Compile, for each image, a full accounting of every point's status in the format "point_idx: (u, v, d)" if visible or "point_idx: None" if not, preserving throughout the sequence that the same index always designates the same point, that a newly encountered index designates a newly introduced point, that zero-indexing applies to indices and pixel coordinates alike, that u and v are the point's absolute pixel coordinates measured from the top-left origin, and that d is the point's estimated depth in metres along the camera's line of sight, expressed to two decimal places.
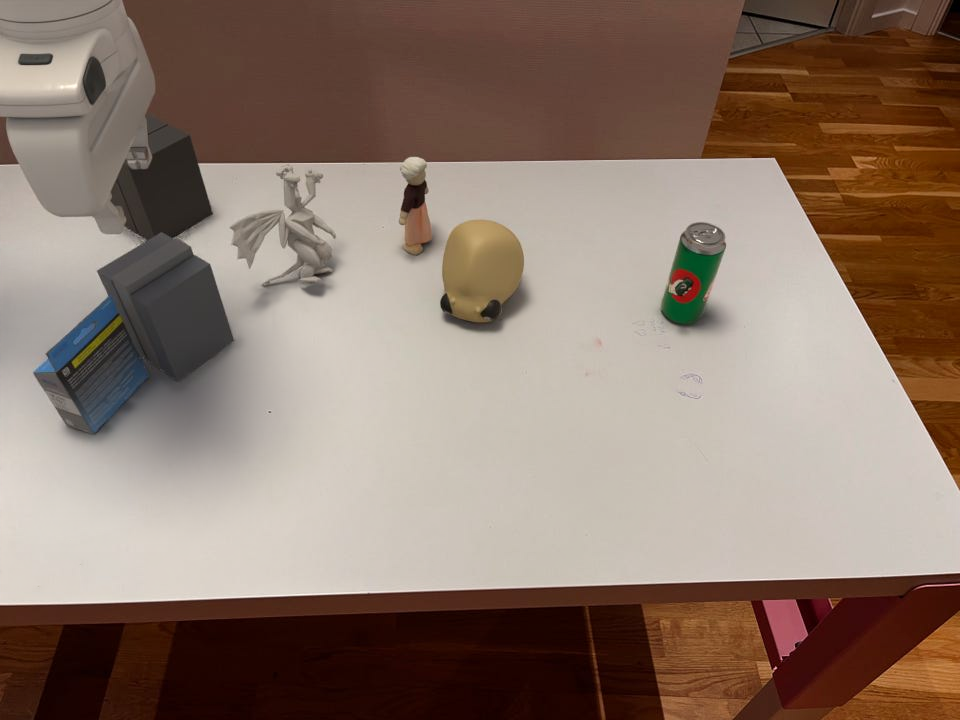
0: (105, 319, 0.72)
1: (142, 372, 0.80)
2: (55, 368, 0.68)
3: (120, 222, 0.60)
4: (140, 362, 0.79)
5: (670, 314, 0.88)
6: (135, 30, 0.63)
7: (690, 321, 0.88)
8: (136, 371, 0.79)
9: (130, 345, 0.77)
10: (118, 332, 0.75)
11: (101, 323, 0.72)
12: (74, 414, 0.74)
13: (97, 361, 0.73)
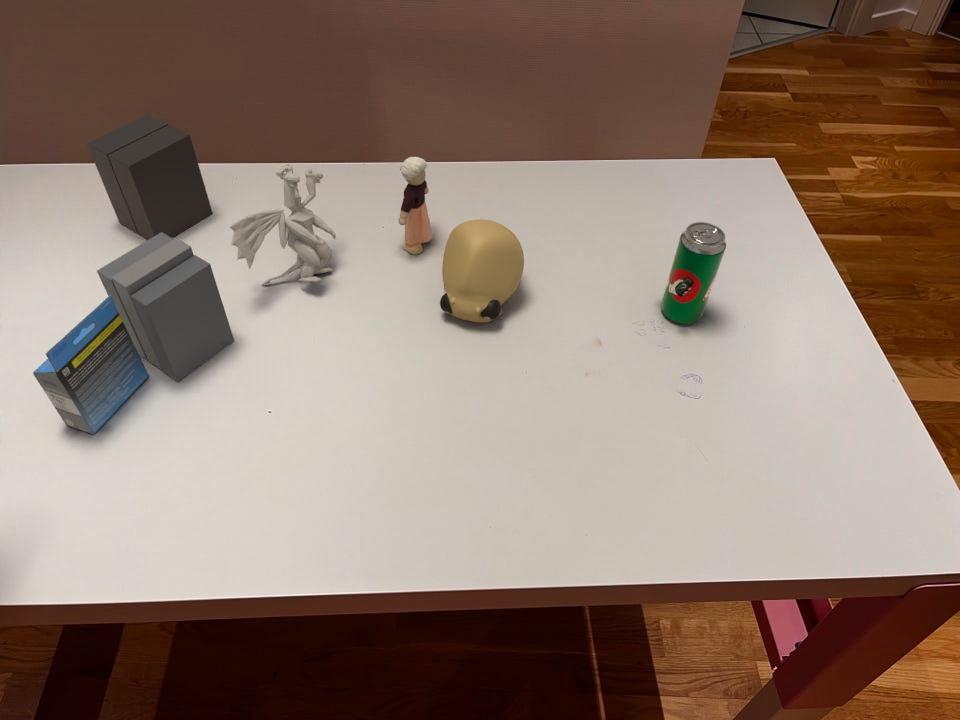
0: (105, 319, 0.72)
1: (142, 372, 0.80)
2: (55, 368, 0.68)
3: None
4: (140, 362, 0.79)
5: (670, 314, 0.88)
6: None
7: (690, 321, 0.88)
8: (136, 371, 0.79)
9: (130, 345, 0.77)
10: (118, 332, 0.75)
11: (101, 323, 0.72)
12: (74, 414, 0.74)
13: (97, 361, 0.73)
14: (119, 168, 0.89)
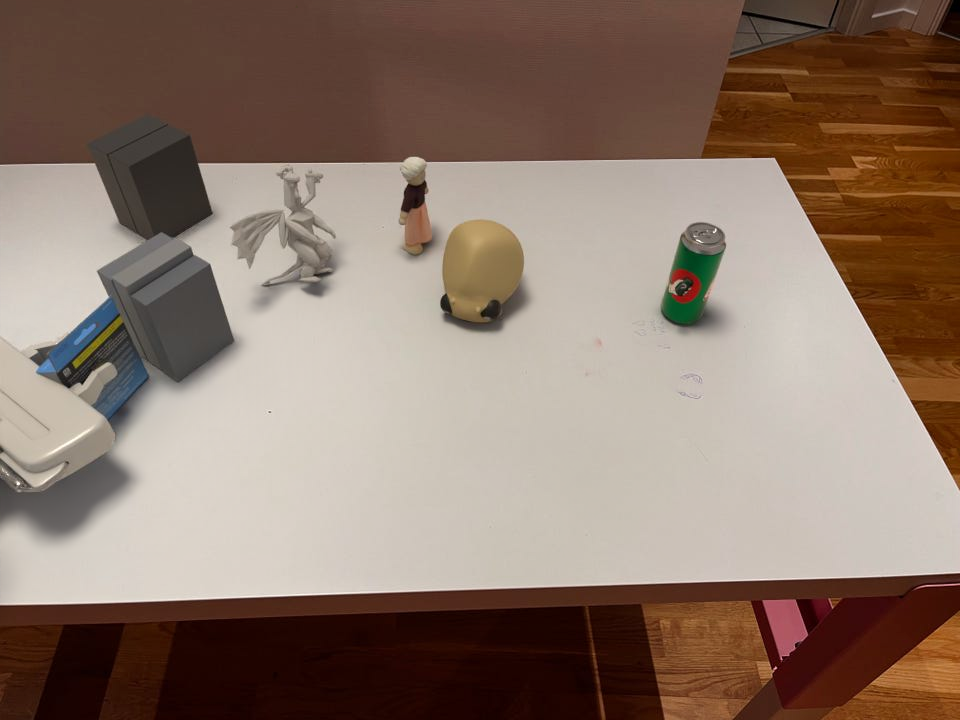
0: (106, 319, 0.72)
1: (142, 372, 0.80)
2: (56, 369, 0.68)
3: None
4: (140, 362, 0.79)
5: (670, 314, 0.88)
6: None
7: (690, 321, 0.88)
8: (136, 371, 0.79)
9: (130, 345, 0.77)
10: (119, 332, 0.75)
11: (102, 323, 0.72)
12: None
13: None
14: (119, 168, 0.89)
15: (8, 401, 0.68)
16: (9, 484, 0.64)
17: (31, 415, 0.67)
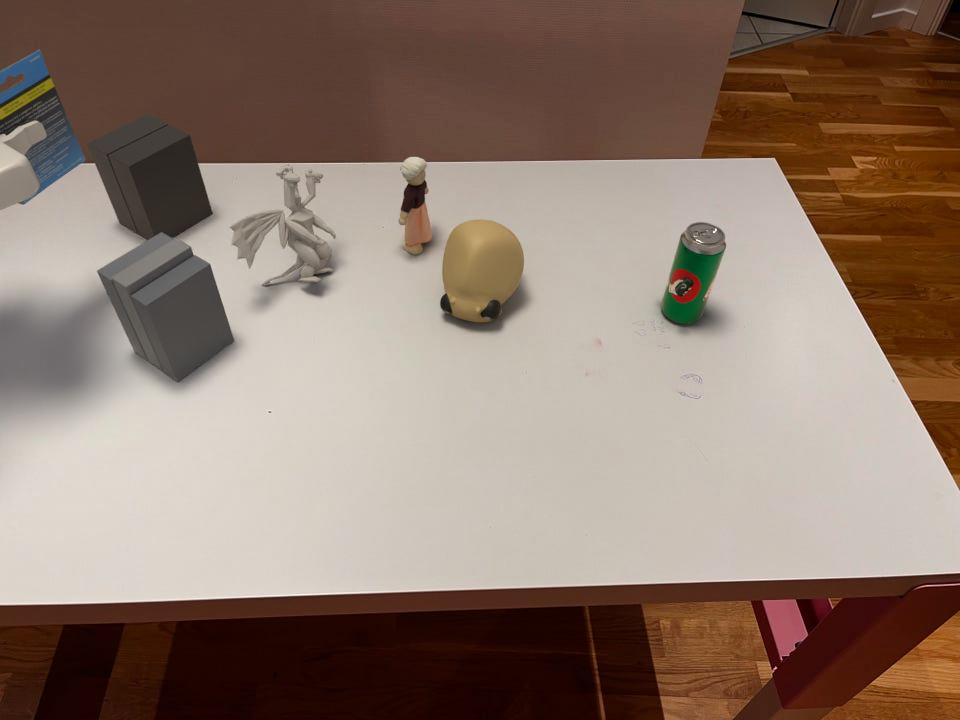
0: (34, 76, 0.70)
1: (78, 153, 0.78)
2: None
3: None
4: (75, 141, 0.77)
5: (670, 314, 0.88)
6: None
7: (690, 321, 0.88)
8: (70, 150, 0.77)
9: (63, 117, 0.75)
10: (49, 97, 0.73)
11: (29, 78, 0.70)
12: None
13: None
14: (119, 168, 0.89)
15: None
16: None
17: None
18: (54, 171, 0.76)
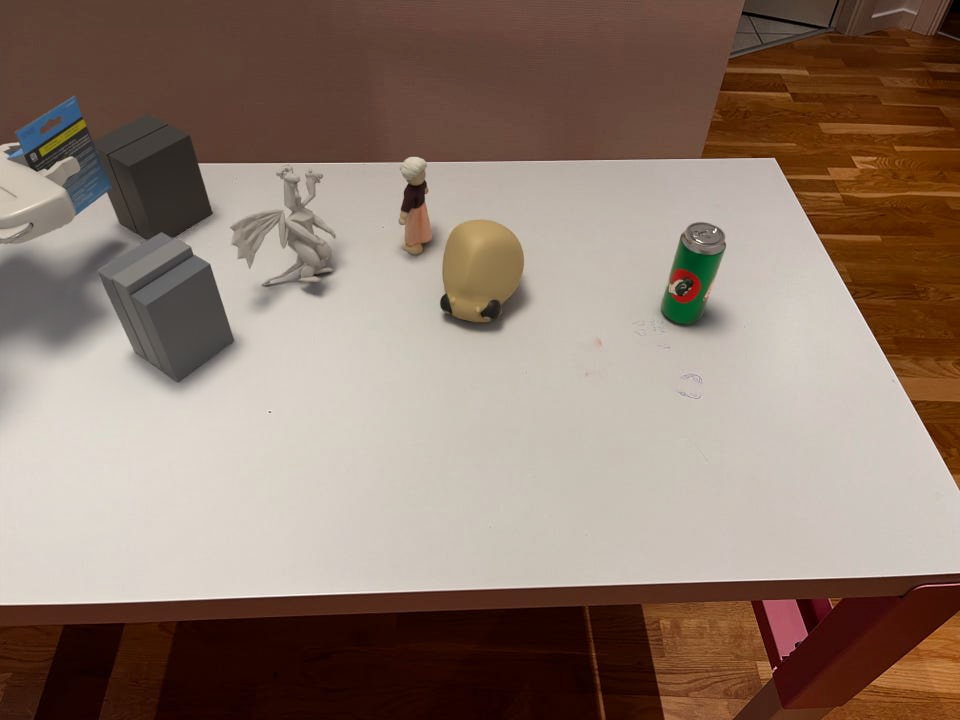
0: (70, 118, 0.82)
1: (105, 182, 0.89)
2: (23, 150, 0.78)
3: None
4: (103, 172, 0.89)
5: (670, 314, 0.88)
6: None
7: (690, 321, 0.88)
8: (99, 179, 0.88)
9: (94, 152, 0.86)
10: (82, 135, 0.84)
11: (66, 120, 0.81)
12: None
13: None
14: (119, 168, 0.89)
15: None
16: None
17: (1, 187, 0.76)
18: (85, 198, 0.87)
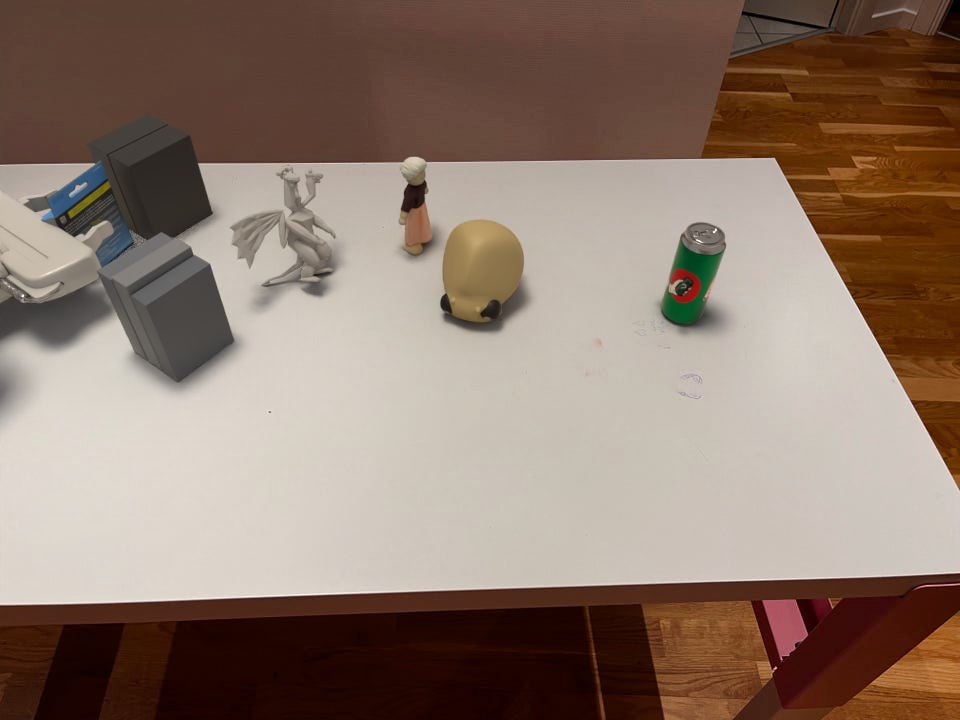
0: (96, 181, 0.88)
1: (128, 236, 0.95)
2: (54, 214, 0.84)
3: None
4: (126, 227, 0.95)
5: (670, 314, 0.88)
6: None
7: (690, 321, 0.88)
8: (122, 234, 0.94)
9: (117, 209, 0.92)
10: (107, 196, 0.90)
11: (92, 184, 0.88)
12: None
13: (89, 217, 0.89)
14: (119, 168, 0.89)
15: (14, 238, 0.84)
16: (15, 296, 0.79)
17: (33, 247, 0.82)
18: (109, 253, 0.93)
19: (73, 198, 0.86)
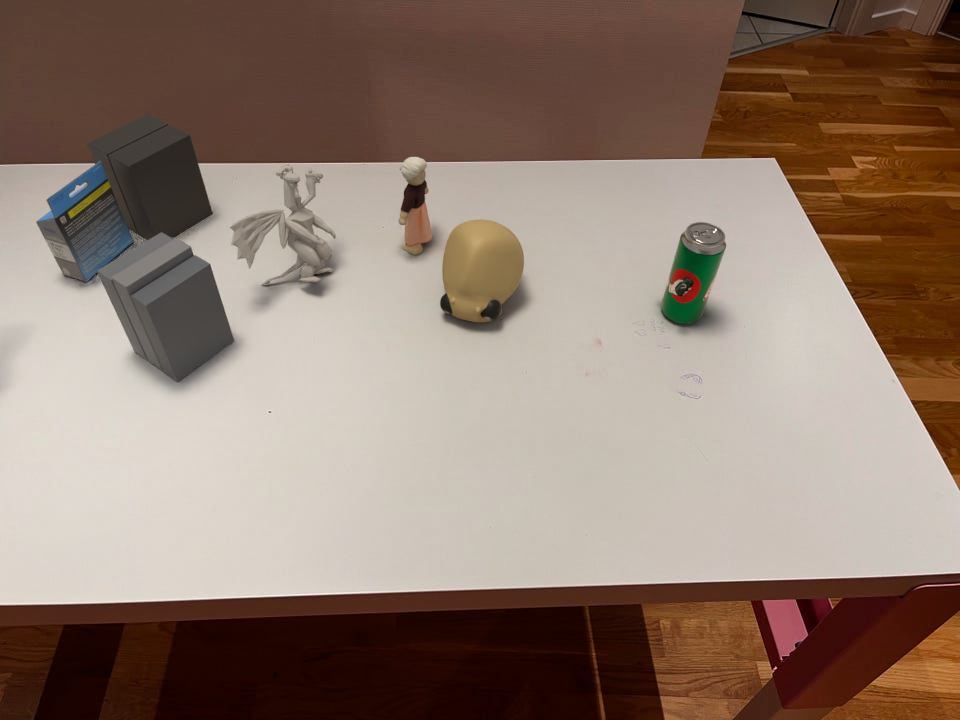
0: (96, 181, 0.88)
1: (128, 236, 0.95)
2: (54, 214, 0.84)
3: None
4: (126, 227, 0.95)
5: (670, 314, 0.88)
6: None
7: (690, 321, 0.88)
8: (122, 234, 0.94)
9: (117, 210, 0.92)
10: (107, 196, 0.90)
11: (92, 184, 0.88)
12: (70, 262, 0.89)
13: (89, 217, 0.89)
14: (119, 168, 0.89)
15: None
16: None
17: None
18: (109, 253, 0.93)
19: (73, 198, 0.86)
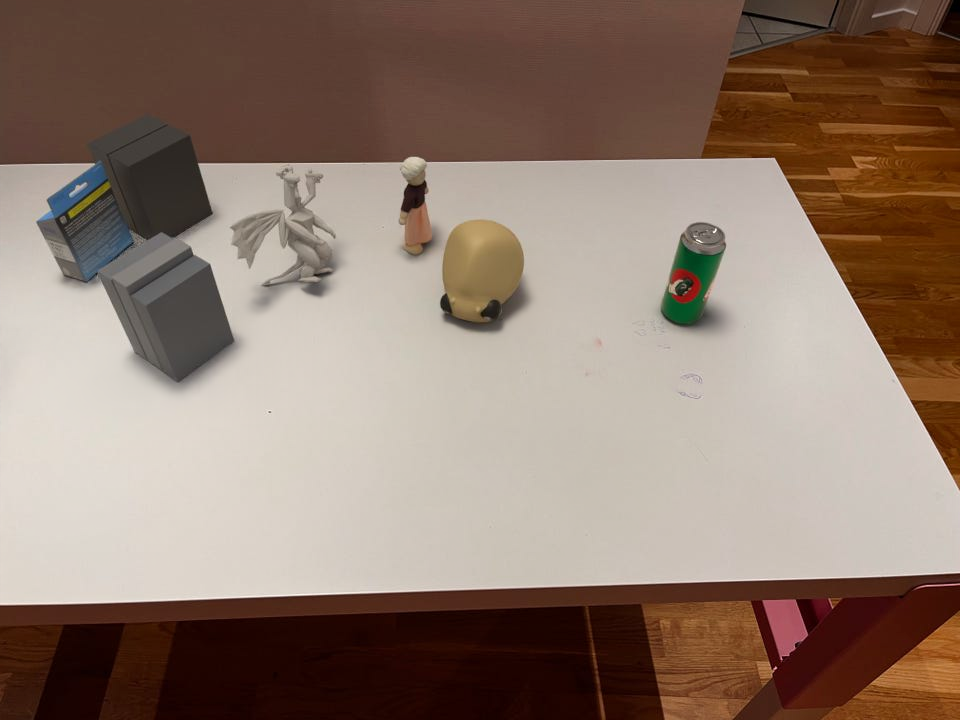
0: (96, 181, 0.88)
1: (128, 236, 0.95)
2: (54, 214, 0.84)
3: None
4: (126, 227, 0.95)
5: (670, 314, 0.88)
6: None
7: (690, 321, 0.88)
8: (122, 234, 0.94)
9: (117, 209, 0.92)
10: (107, 196, 0.90)
11: (92, 184, 0.88)
12: (70, 262, 0.89)
13: (89, 217, 0.89)
14: (119, 168, 0.89)
15: None
16: None
17: None
18: (109, 253, 0.93)
19: (73, 198, 0.86)
